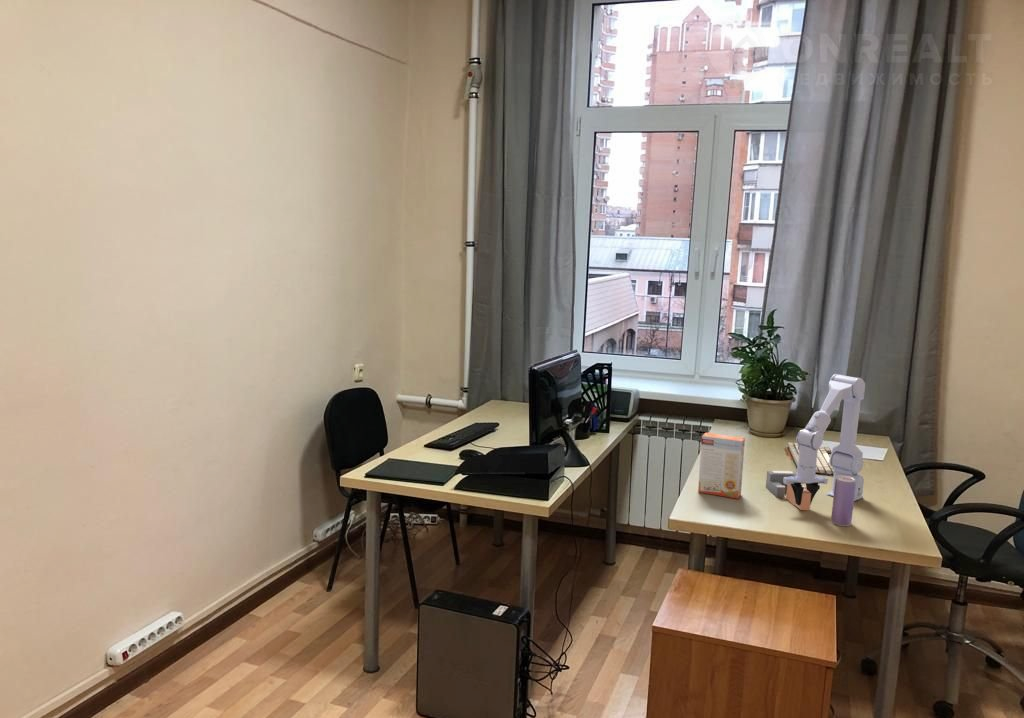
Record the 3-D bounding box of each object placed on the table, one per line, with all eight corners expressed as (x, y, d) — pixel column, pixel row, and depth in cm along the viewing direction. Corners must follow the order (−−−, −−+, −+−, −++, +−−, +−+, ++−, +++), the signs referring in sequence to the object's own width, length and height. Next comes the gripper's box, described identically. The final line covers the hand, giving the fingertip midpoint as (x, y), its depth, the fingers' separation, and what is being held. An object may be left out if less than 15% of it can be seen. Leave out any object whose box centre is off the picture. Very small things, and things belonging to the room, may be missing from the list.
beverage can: (849, 528, 235) (854, 482, 233) (829, 523, 238) (834, 478, 236) (852, 522, 240) (857, 477, 238) (832, 518, 243) (837, 473, 241)
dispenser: (765, 486, 272) (767, 470, 271) (793, 487, 272) (794, 470, 271) (776, 497, 261) (778, 480, 260) (805, 498, 262) (806, 480, 260)
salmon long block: (785, 498, 260) (787, 482, 259) (794, 498, 260) (795, 481, 259) (801, 510, 249) (802, 493, 248) (809, 510, 249) (811, 492, 248)
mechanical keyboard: (847, 479, 286) (848, 470, 285) (795, 474, 290) (795, 466, 289) (828, 452, 322) (829, 444, 322) (782, 448, 326) (782, 441, 326)
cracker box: (741, 494, 263) (745, 437, 260) (738, 499, 258) (742, 441, 255) (701, 487, 270) (705, 431, 266) (697, 492, 264) (701, 435, 261)
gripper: (821, 461, 253) (817, 499, 255) (780, 461, 252) (777, 500, 254) (832, 467, 246) (828, 507, 249) (790, 468, 245) (786, 507, 247)
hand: (803, 504), depth 251 cm, fingers closed on salmon long block, 3 cm apart
